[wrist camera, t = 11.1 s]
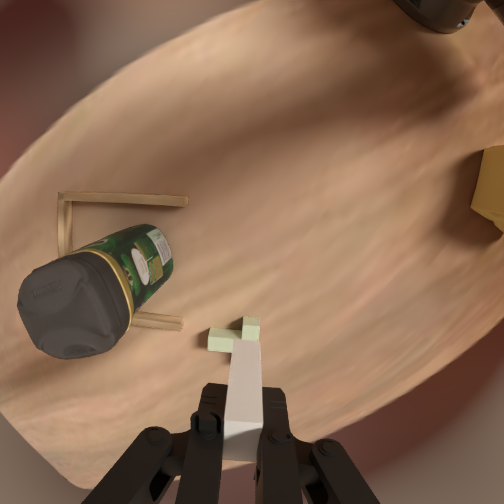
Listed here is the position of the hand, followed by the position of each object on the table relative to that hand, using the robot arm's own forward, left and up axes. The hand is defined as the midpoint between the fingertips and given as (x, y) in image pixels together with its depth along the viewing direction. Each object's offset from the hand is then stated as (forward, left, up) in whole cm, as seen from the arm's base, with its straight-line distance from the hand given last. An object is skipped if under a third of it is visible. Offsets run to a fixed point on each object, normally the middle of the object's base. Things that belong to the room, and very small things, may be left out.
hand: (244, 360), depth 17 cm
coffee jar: (0, -14, -20) cm, 24 cm away
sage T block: (+9, -1, -19) cm, 22 cm away
